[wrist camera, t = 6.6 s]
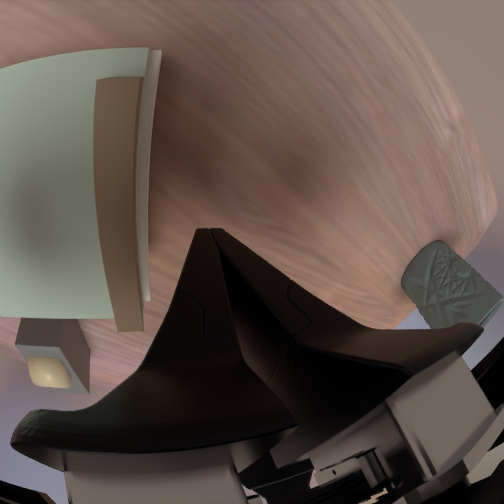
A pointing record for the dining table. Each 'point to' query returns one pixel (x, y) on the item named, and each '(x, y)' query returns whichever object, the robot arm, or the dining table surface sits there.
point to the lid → (72, 186)
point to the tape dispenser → (55, 354)
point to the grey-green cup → (449, 288)
